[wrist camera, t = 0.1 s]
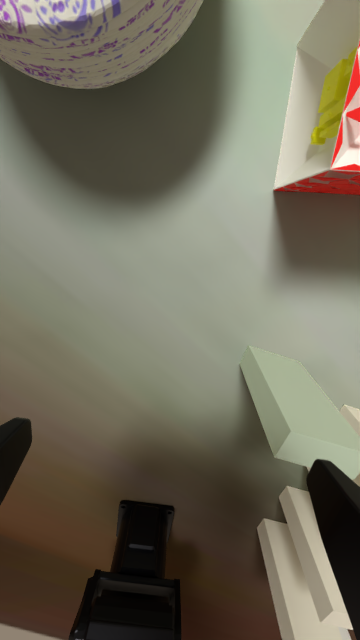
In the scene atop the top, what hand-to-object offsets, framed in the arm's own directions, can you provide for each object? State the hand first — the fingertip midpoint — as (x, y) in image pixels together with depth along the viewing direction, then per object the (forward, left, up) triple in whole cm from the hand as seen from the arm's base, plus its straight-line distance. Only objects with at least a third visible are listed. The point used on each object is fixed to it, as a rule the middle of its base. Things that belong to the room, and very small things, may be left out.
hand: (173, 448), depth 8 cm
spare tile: (-4, -9, -15) cm, 17 cm away
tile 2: (-21, -17, -15) cm, 31 cm away
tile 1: (-27, -16, -15) cm, 34 cm away
